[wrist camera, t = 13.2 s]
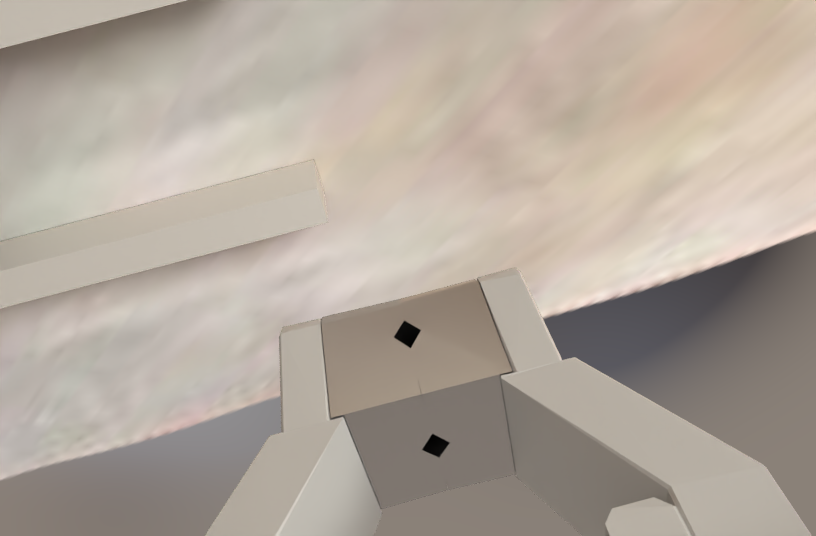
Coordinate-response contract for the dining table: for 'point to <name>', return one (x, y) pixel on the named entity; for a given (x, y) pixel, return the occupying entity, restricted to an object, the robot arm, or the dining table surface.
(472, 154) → the dining table surface
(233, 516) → the robot arm
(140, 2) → the shallow open rectangular tray
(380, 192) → the dining table surface
